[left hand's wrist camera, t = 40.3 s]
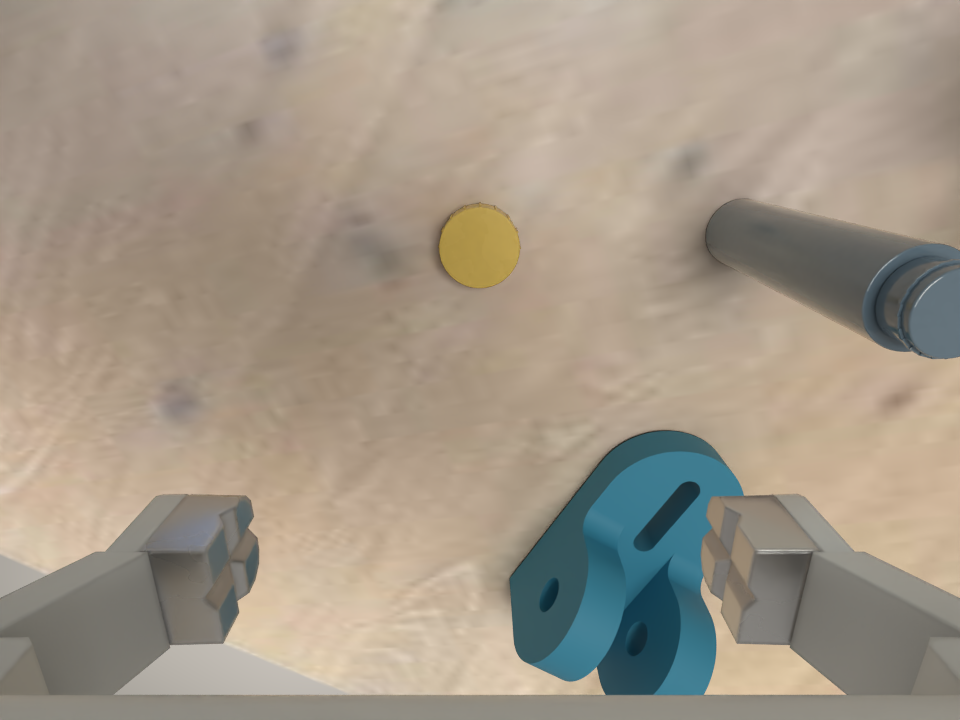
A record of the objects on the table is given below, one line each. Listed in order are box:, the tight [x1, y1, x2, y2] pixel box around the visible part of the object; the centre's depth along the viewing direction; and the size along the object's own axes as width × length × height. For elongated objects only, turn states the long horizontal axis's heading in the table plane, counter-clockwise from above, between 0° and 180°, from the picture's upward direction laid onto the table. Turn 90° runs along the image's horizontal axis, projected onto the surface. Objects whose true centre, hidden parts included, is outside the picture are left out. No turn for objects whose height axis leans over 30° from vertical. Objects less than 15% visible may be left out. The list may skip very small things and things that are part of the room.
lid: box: [438, 202, 521, 288], centre depth 37 cm, size 5×5×2 cm
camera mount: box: [510, 431, 744, 695], centre depth 41 cm, size 18×10×10 cm, turn 148°
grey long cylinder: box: [706, 199, 960, 359], centre depth 29 cm, size 4×4×19 cm
